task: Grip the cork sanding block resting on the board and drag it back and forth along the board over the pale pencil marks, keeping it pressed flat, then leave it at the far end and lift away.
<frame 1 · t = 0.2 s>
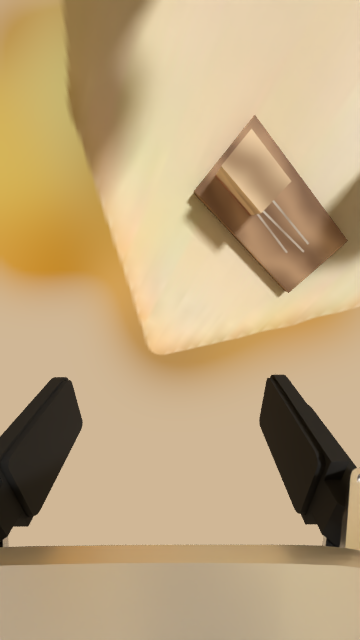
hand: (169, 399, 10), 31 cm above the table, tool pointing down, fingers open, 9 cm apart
board: (270, 217, 34), on the table
sanding block: (245, 182, 31), point 2 cm above the table, touching board
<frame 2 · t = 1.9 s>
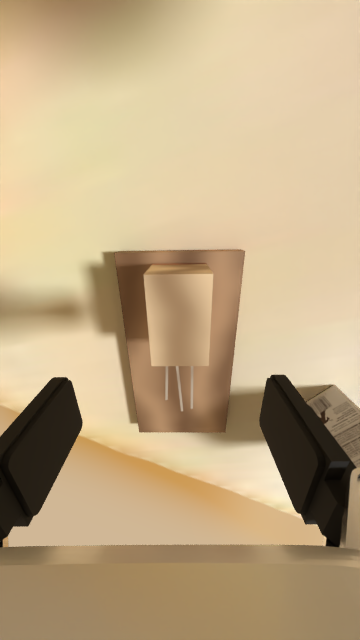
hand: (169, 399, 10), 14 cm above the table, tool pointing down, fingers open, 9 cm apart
coffee box: (330, 411, 29), on the table
board: (181, 353, 25), on the table
sanding block: (180, 303, 21), point 2 cm above the table, touching board
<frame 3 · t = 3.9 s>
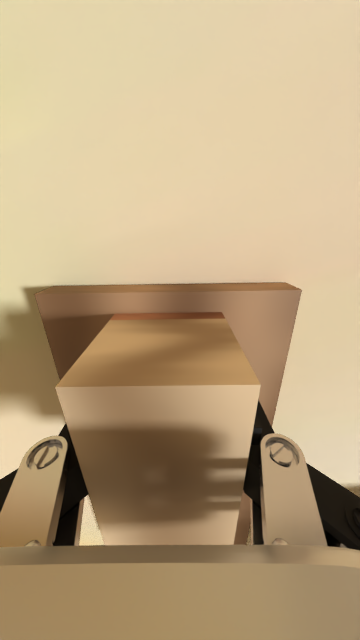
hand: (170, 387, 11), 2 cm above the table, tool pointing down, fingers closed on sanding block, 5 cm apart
board: (174, 444, 15), on the table
sanding block: (171, 381, 11), point 2 cm above the table, touching board, gripper
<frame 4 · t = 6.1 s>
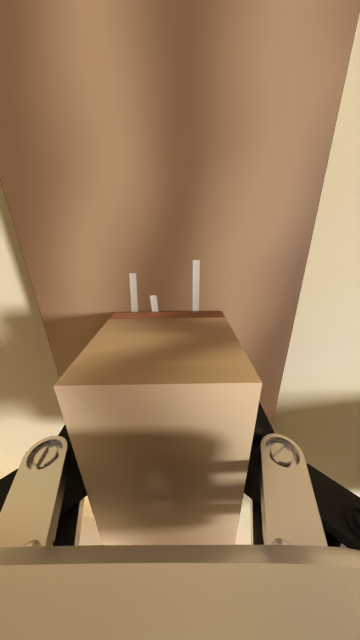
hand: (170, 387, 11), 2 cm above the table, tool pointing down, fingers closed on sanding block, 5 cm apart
board: (170, 322, 11), on the table
sanding block: (170, 381, 11), point 2 cm above the table, touching gripper
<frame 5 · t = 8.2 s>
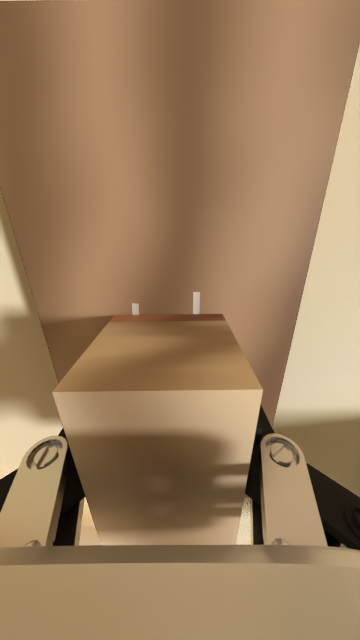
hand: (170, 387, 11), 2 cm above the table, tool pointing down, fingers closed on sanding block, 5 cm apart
board: (170, 344, 12), on the table
sanding block: (170, 384, 11), point 2 cm above the table, touching gripper
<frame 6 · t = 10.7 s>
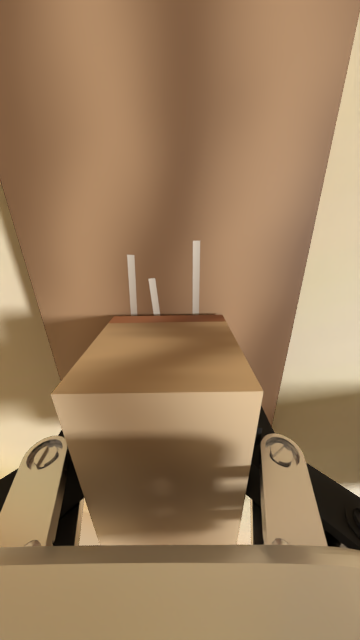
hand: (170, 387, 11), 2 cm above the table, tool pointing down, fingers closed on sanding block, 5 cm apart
board: (169, 309, 11), on the table
sanding block: (170, 385, 11), point 2 cm above the table, touching gripper
when the fingers open (2 cm above the table, at t = 12.4 s): sanding block stays where it is, resting on board.
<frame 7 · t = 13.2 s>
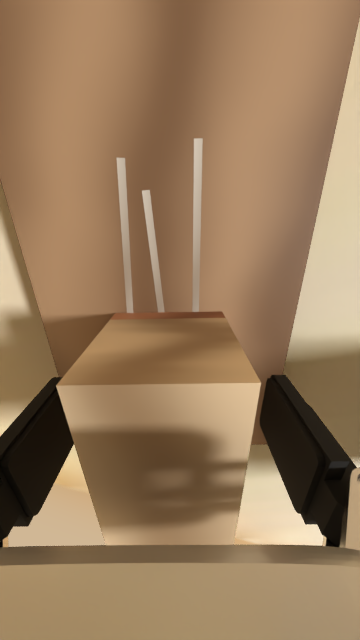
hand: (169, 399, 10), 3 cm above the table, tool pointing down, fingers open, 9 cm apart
board: (167, 244, 10), on the table
sanding block: (171, 381, 11), point 2 cm above the table, touching board
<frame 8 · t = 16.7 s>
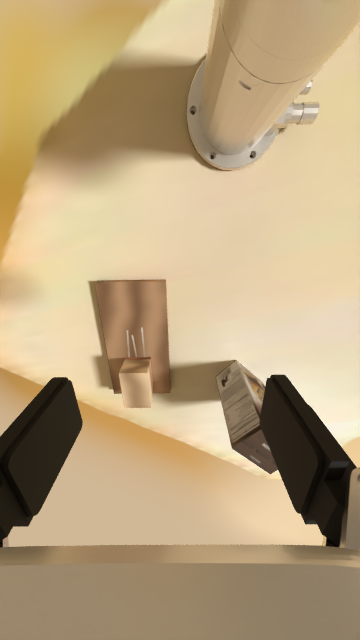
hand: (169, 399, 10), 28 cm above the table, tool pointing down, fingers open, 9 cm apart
coffee box: (239, 379, 45), on the table
board: (138, 340, 41), on the table
sanding block: (140, 373, 42), point 2 cm above the table, touching board
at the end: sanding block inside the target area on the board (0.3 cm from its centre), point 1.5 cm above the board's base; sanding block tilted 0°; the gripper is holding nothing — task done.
